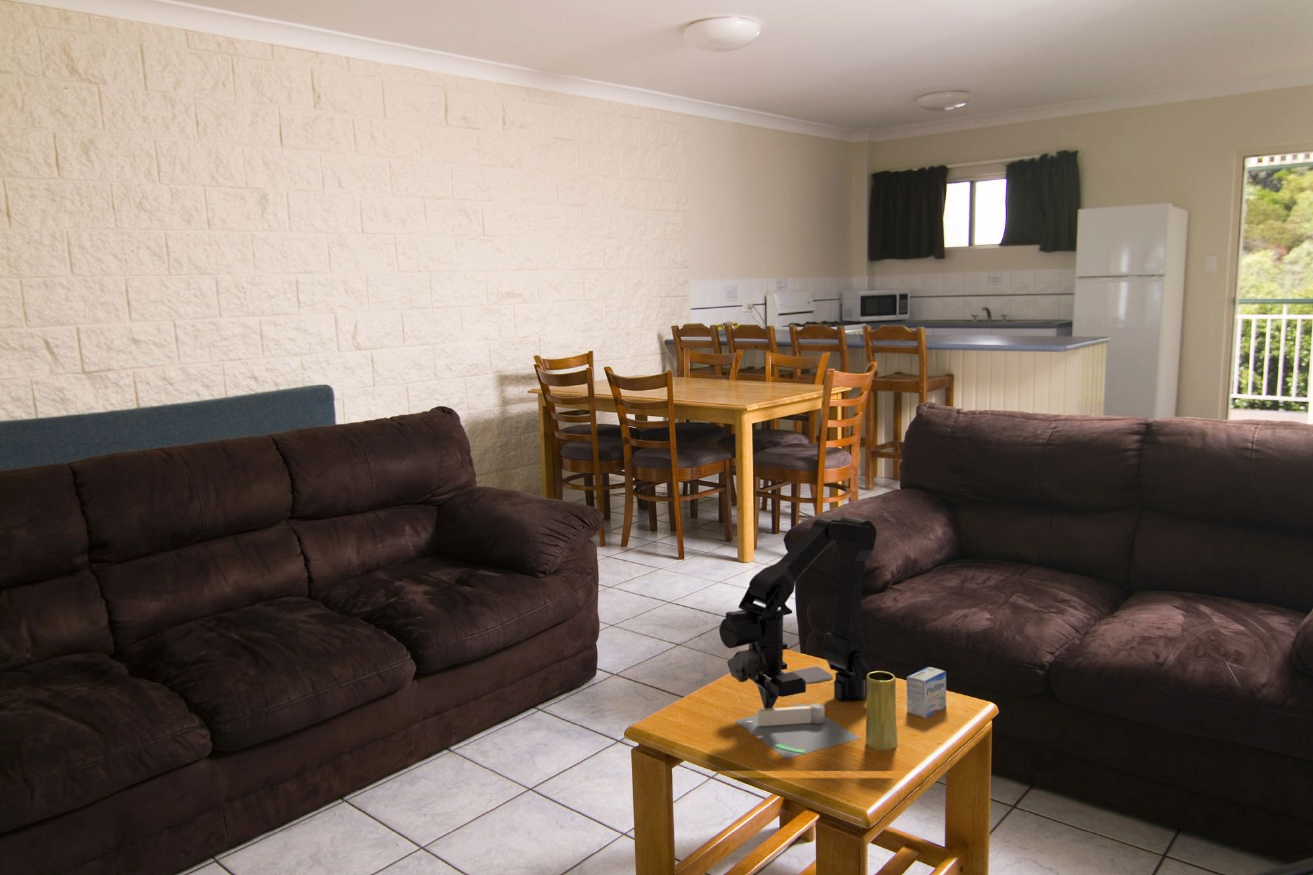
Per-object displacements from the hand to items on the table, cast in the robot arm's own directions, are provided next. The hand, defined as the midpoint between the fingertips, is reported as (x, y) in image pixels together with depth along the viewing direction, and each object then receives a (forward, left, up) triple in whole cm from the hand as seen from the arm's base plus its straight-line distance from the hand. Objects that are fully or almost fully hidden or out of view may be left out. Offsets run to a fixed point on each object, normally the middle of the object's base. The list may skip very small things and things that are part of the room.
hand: (768, 712), depth 184 cm
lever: (-4, +3, -2) cm, 5 cm away
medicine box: (-32, +11, -4) cm, 34 cm away
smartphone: (-20, -18, -4) cm, 27 cm away
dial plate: (-3, +5, -3) cm, 7 cm away
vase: (-14, +18, -3) cm, 23 cm away
